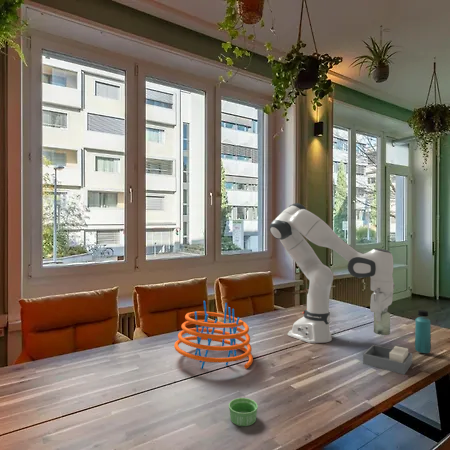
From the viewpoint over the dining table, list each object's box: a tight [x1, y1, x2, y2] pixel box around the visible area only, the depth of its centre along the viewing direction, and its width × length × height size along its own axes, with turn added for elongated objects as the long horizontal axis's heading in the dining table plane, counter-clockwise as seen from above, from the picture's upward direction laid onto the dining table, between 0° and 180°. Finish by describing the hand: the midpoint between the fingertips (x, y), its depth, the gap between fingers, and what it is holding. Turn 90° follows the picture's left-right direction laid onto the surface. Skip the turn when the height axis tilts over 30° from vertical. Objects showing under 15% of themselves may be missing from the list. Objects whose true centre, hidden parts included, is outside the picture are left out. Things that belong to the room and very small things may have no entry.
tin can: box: [373, 311, 391, 336], centre depth 149 cm, size 6×6×8 cm
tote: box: [362, 344, 413, 375], centre depth 148 cm, size 16×14×5 cm
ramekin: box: [228, 397, 259, 427], centre depth 108 cm, size 9×9×4 cm
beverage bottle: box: [414, 309, 432, 354], centre depth 161 cm, size 6×7×20 cm
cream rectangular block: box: [389, 345, 409, 363], centre depth 145 cm, size 5×10×6 cm, turn 141°
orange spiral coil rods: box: [173, 300, 254, 369], centre depth 153 cm, size 34×35×24 cm
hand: (381, 318), depth 149 cm, fingers closed on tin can, 6 cm apart
